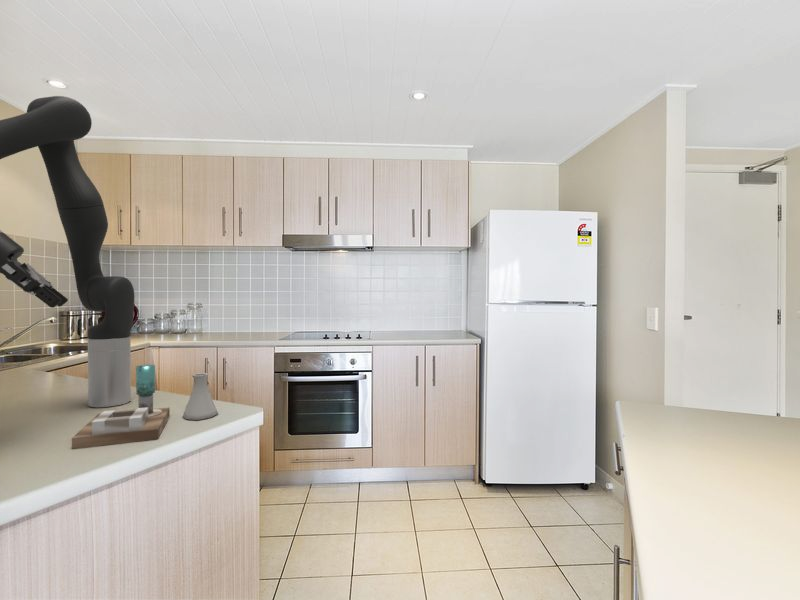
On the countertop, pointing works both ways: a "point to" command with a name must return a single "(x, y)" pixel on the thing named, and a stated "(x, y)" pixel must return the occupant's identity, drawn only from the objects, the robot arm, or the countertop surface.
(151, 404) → the peg
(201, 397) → the flask
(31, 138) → the robot arm
